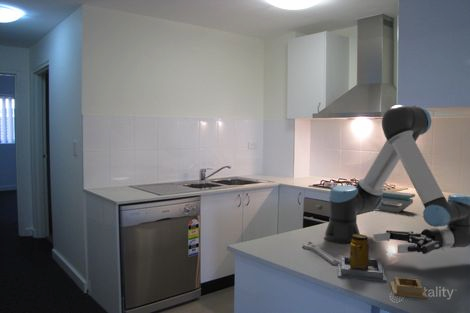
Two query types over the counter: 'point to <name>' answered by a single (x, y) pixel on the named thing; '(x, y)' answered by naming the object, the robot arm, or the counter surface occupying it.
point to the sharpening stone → (395, 197)
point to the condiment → (359, 253)
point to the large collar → (361, 274)
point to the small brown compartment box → (408, 287)
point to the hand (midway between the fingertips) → (385, 243)
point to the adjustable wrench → (320, 252)
